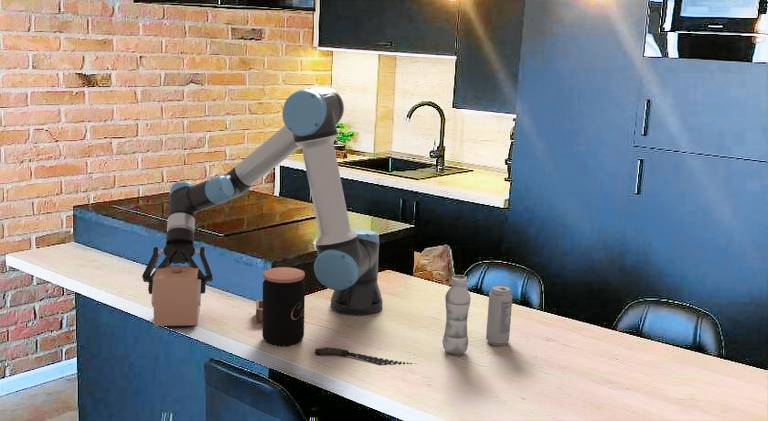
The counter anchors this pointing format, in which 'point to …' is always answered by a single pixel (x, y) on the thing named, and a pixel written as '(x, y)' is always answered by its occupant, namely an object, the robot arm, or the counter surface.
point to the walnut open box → (259, 311)
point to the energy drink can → (499, 315)
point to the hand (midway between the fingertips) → (176, 304)
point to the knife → (354, 356)
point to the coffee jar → (283, 306)
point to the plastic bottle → (456, 316)
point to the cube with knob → (175, 296)
